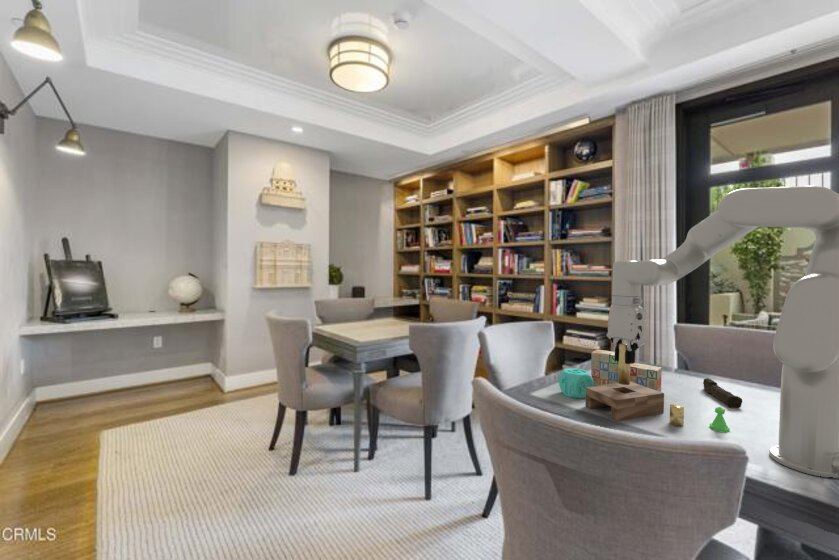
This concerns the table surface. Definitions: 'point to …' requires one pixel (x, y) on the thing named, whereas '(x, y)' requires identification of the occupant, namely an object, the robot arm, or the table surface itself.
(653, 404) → the bridge board
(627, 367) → the tall pin
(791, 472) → the table surface
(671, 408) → the short pin
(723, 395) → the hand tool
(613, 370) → the stack of blocks
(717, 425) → the game piece
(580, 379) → the decorative dice
